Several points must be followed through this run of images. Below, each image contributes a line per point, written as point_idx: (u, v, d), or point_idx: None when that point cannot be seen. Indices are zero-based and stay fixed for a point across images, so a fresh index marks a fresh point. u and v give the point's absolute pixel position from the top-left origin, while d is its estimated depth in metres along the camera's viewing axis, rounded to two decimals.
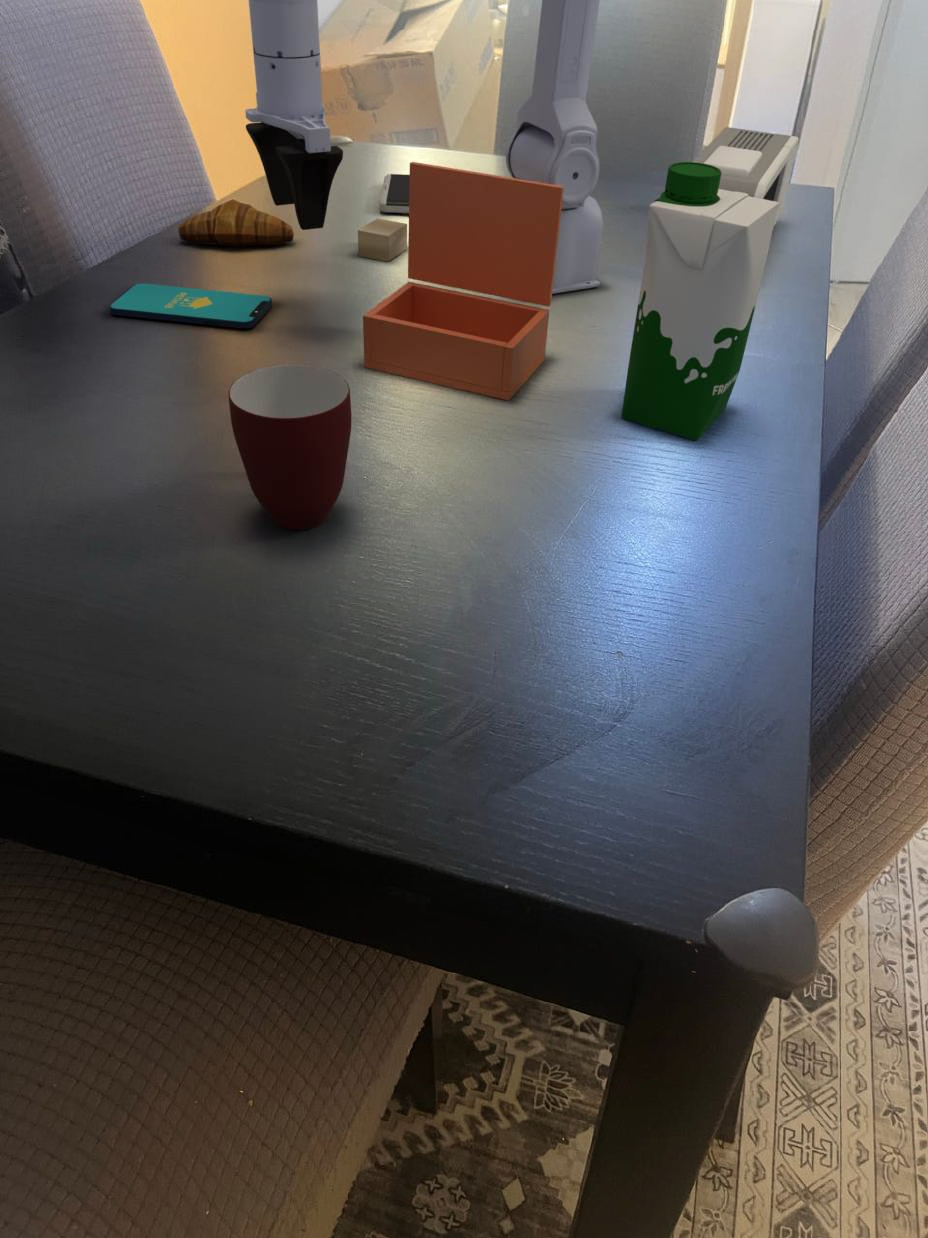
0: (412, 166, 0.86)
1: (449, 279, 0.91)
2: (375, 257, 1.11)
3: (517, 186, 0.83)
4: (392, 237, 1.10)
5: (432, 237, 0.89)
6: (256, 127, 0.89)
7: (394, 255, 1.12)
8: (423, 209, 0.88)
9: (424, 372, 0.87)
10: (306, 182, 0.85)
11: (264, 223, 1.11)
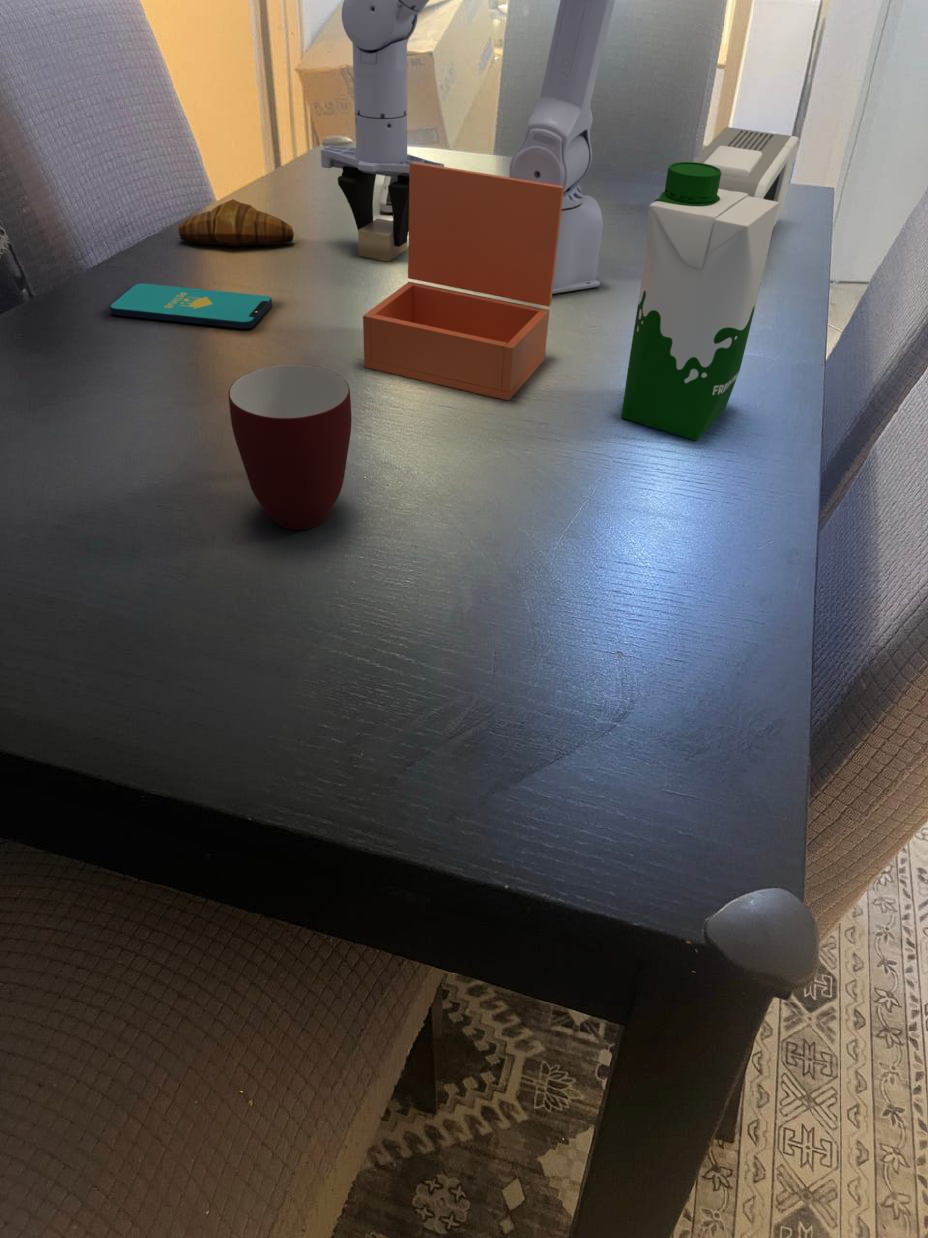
0: (412, 166, 0.86)
1: (449, 279, 0.91)
2: (375, 257, 1.11)
3: (517, 186, 0.83)
4: (392, 237, 1.10)
5: (432, 237, 0.89)
6: (351, 179, 1.07)
7: (394, 255, 1.12)
8: (423, 209, 0.88)
9: (424, 372, 0.87)
10: None
11: (264, 223, 1.11)
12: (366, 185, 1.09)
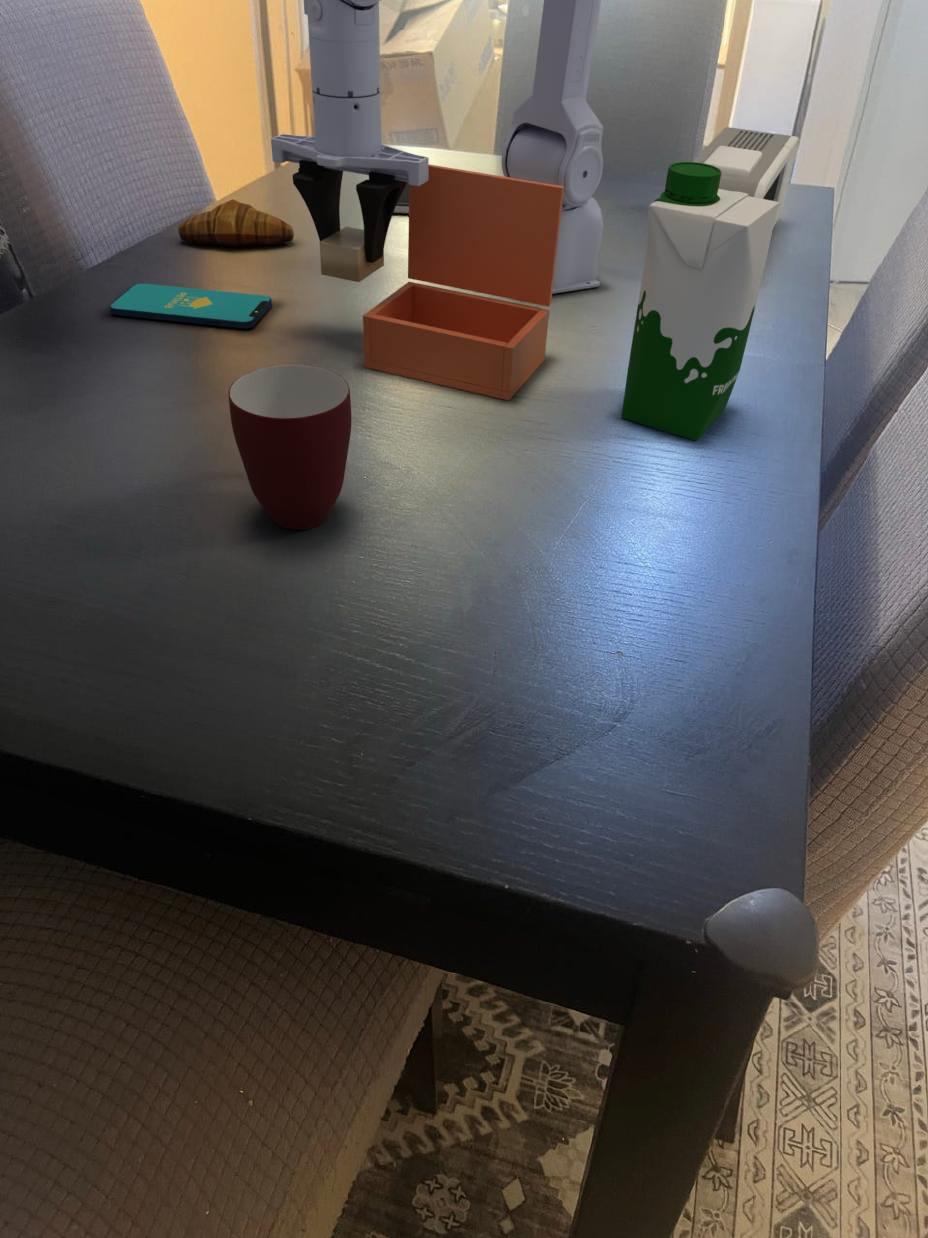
0: None
1: (449, 279, 0.91)
2: (342, 276, 0.87)
3: (517, 186, 0.83)
4: (363, 252, 0.86)
5: (432, 237, 0.89)
6: (309, 177, 0.83)
7: (366, 274, 0.88)
8: (423, 209, 0.88)
9: (424, 372, 0.87)
10: None
11: (264, 223, 1.11)
12: (330, 185, 0.85)
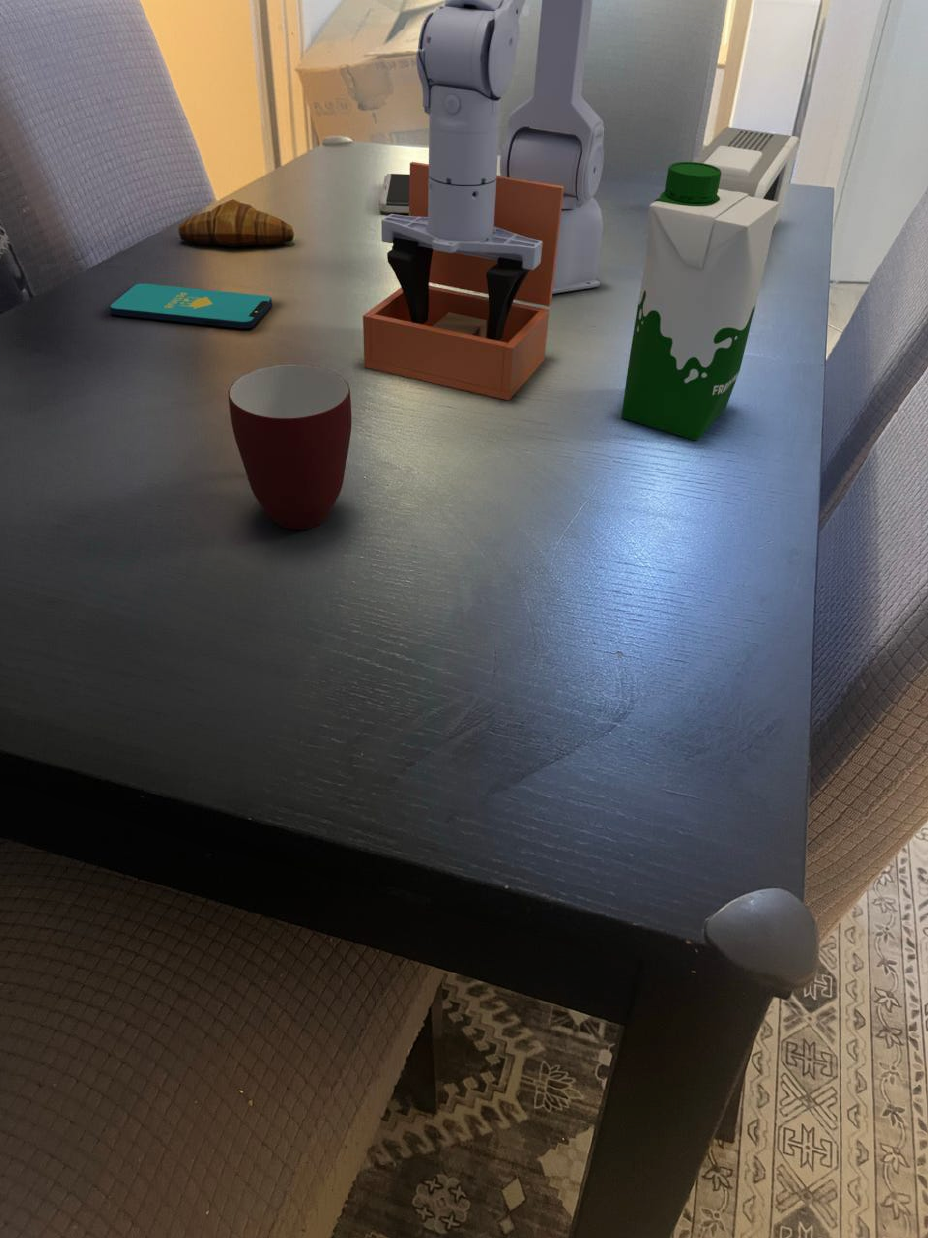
0: (412, 166, 0.86)
1: (449, 279, 0.91)
2: None
3: (517, 186, 0.83)
4: None
5: None
6: (404, 255, 0.84)
7: None
8: (423, 209, 0.88)
9: (424, 372, 0.87)
10: None
11: (264, 223, 1.11)
12: (422, 261, 0.86)
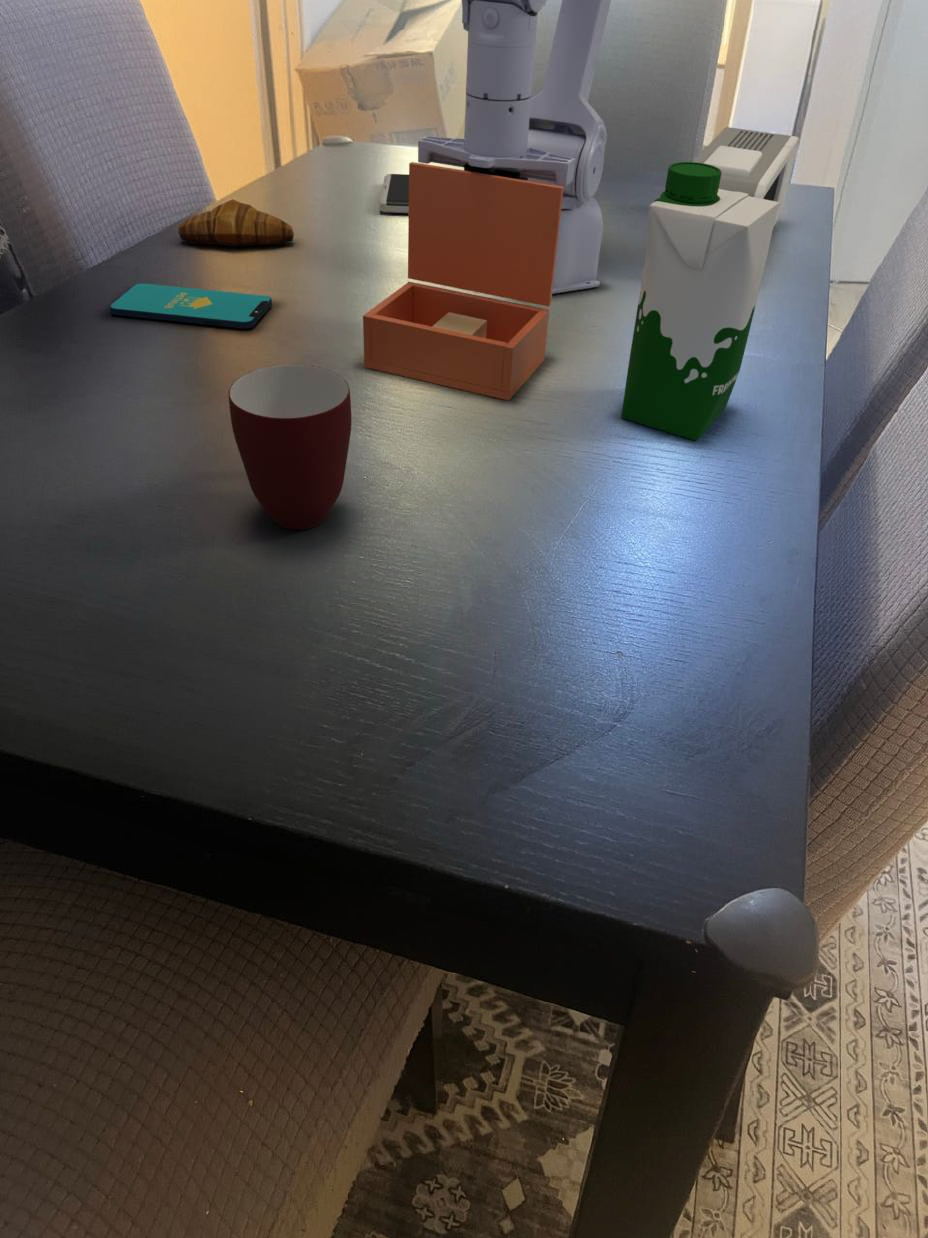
0: (412, 166, 0.86)
1: (449, 279, 0.91)
2: None
3: (517, 186, 0.83)
4: None
5: (432, 237, 0.89)
6: None
7: None
8: (423, 209, 0.88)
9: (424, 372, 0.87)
10: None
11: (264, 223, 1.11)
12: None
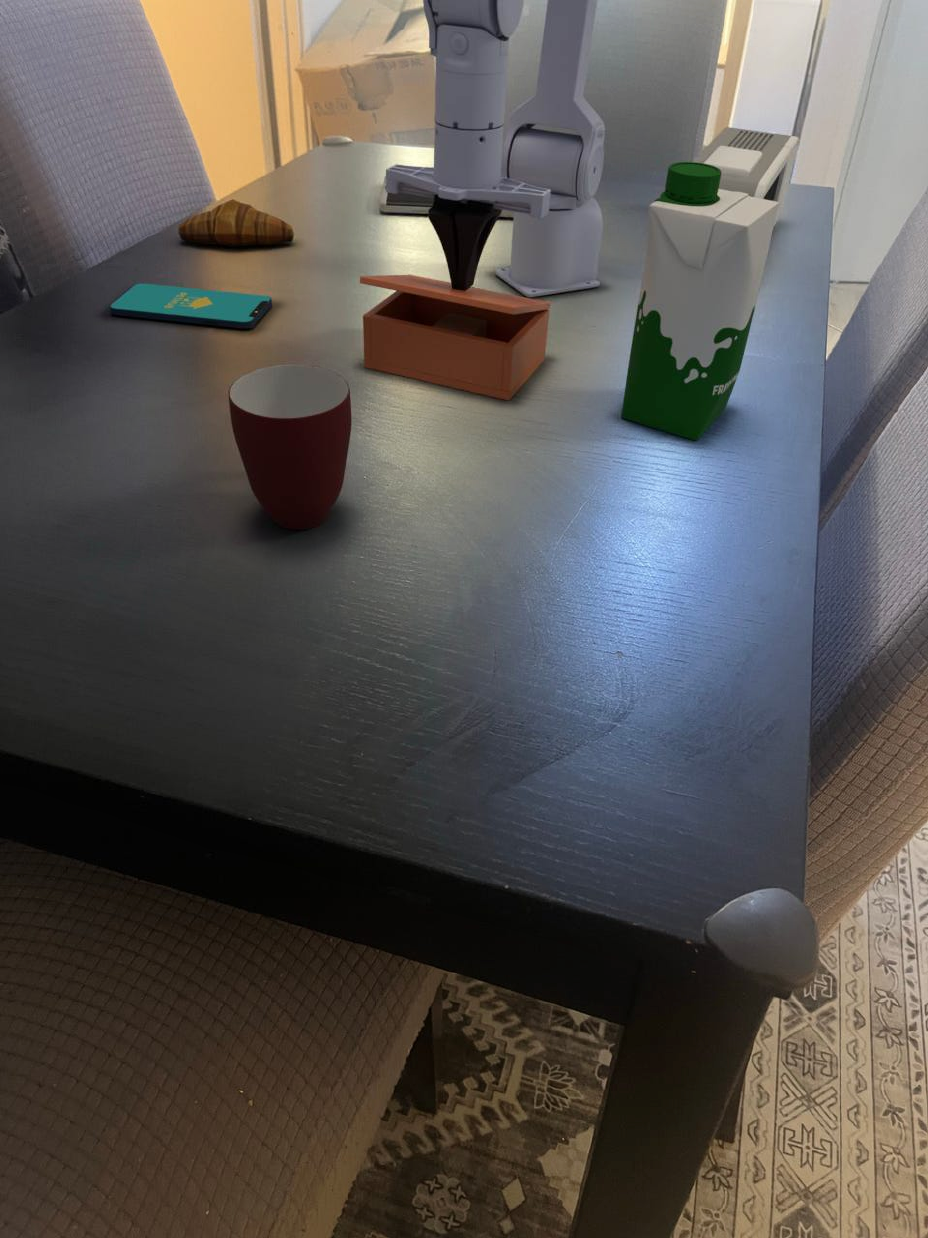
0: (364, 283, 0.84)
1: None
2: None
3: None
4: None
5: None
6: (446, 212, 0.81)
7: None
8: None
9: (424, 372, 0.87)
10: None
11: (264, 223, 1.11)
12: None
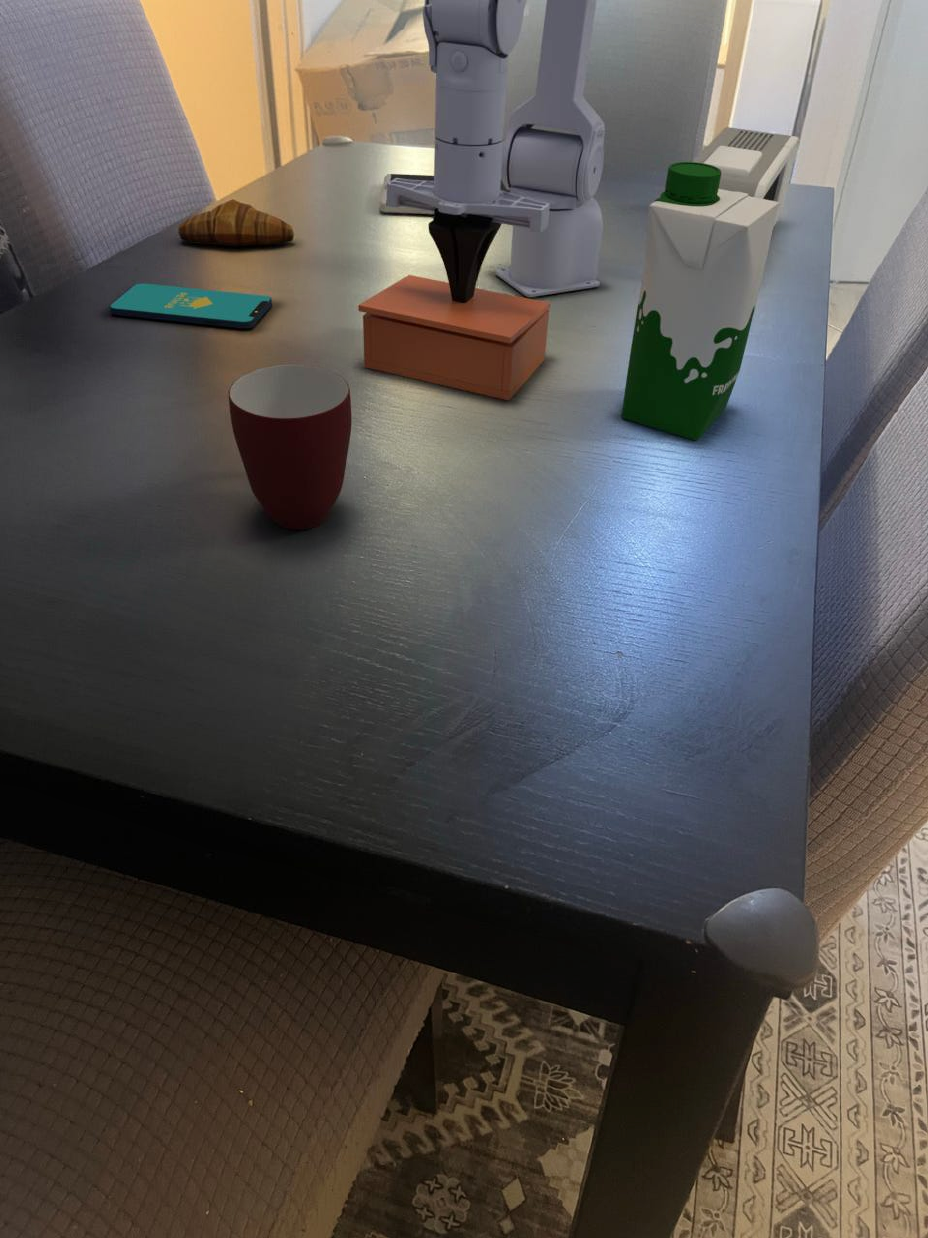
0: (363, 311, 0.85)
1: None
2: None
3: None
4: None
5: None
6: (446, 226, 0.82)
7: None
8: None
9: (424, 372, 0.87)
10: None
11: (264, 223, 1.11)
12: None
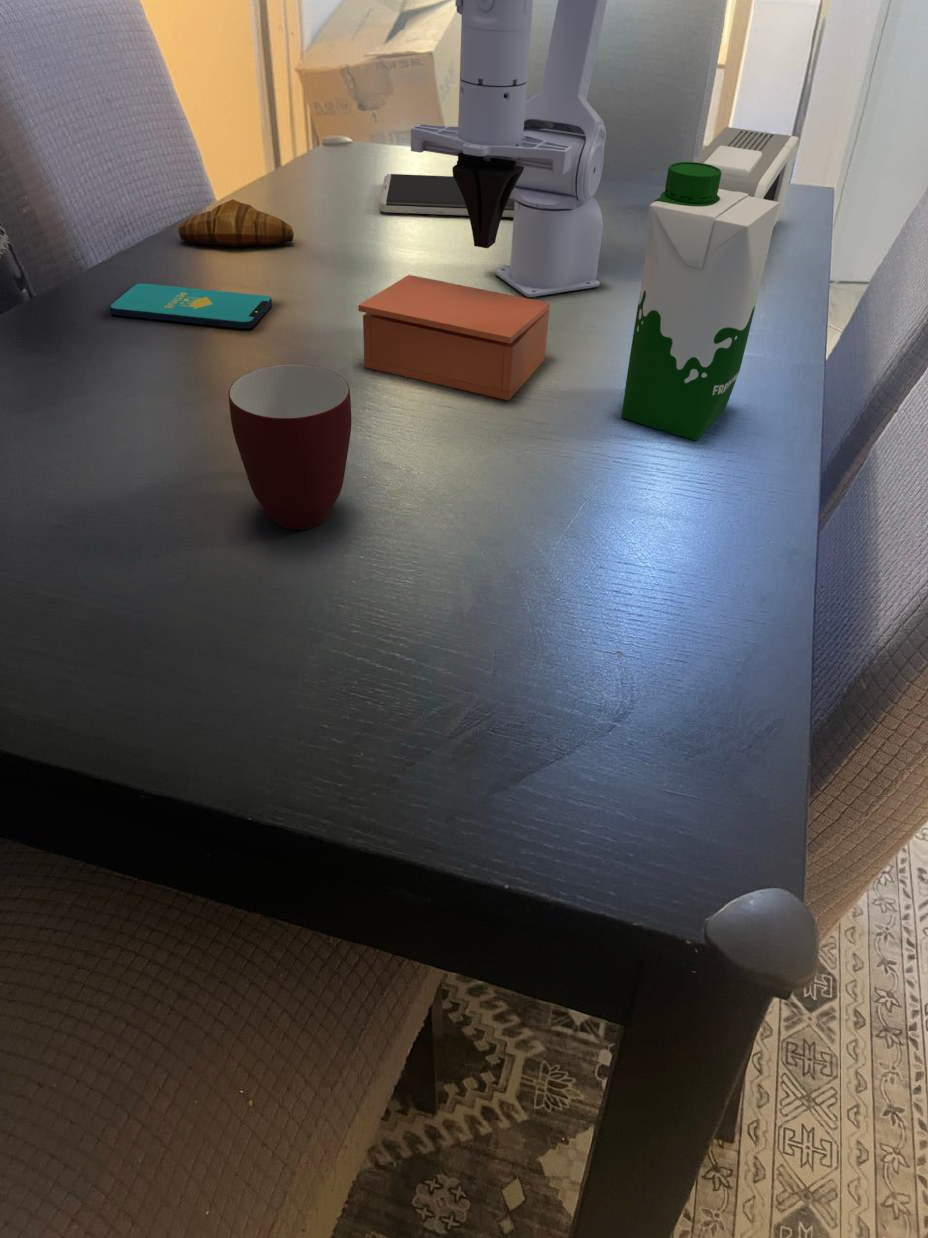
0: (363, 311, 0.85)
1: None
2: None
3: None
4: None
5: None
6: (470, 169, 0.83)
7: None
8: None
9: (424, 372, 0.87)
10: None
11: (264, 223, 1.11)
12: None
